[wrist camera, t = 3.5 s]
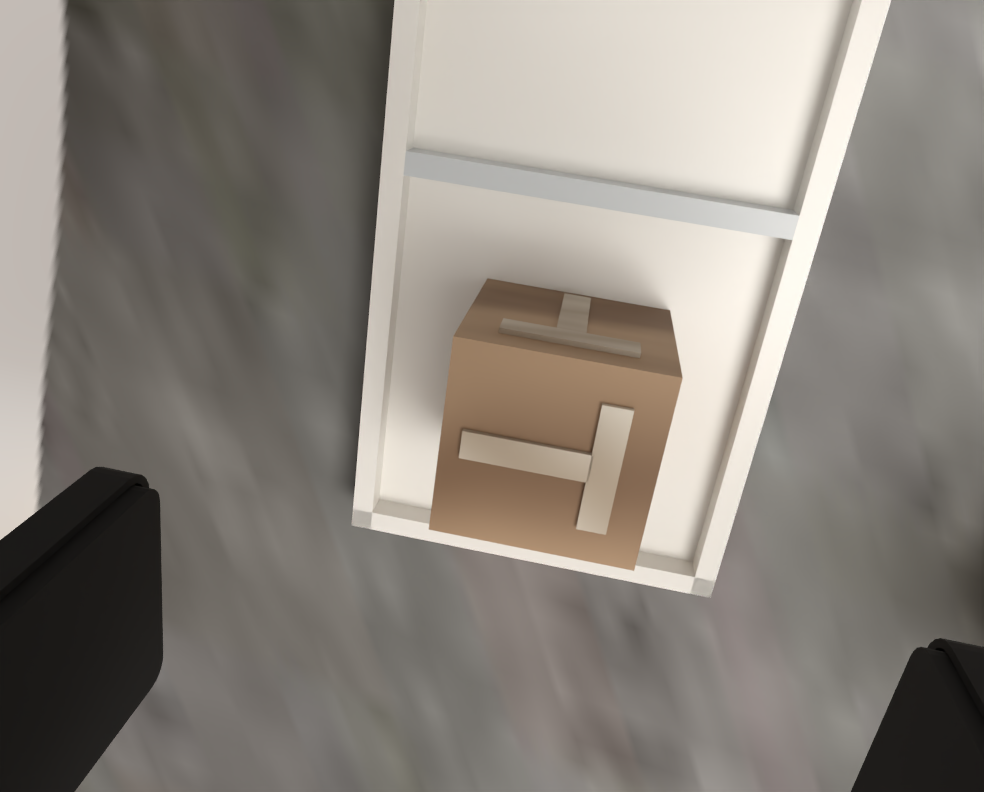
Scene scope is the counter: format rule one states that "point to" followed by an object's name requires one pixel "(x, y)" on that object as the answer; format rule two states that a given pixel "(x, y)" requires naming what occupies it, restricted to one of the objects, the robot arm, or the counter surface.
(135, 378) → the counter surface
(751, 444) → the tray
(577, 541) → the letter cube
